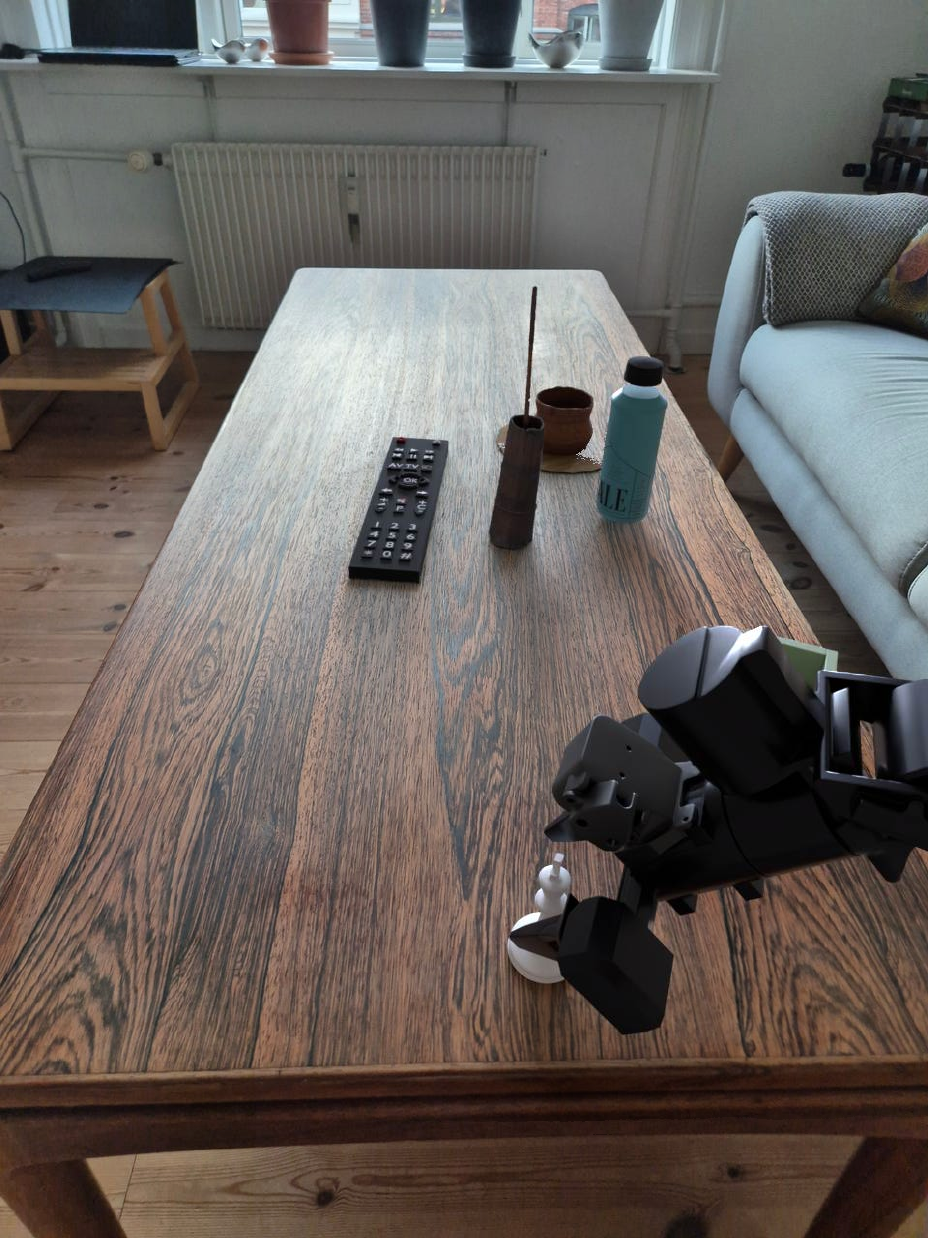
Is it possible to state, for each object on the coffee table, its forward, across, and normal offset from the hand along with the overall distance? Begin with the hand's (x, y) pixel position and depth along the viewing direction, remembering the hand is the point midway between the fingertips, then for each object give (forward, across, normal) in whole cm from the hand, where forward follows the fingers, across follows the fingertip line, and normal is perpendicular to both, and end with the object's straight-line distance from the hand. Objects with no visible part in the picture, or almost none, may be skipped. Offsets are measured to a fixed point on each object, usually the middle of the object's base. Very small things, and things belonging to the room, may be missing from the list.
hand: (531, 884), depth 53 cm
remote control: (+26, -51, -16) cm, 60 cm away
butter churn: (+15, -48, -6) cm, 51 cm away
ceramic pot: (+16, -76, -6) cm, 78 cm away
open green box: (-6, -31, +15) cm, 35 cm away
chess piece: (+4, 0, +6) cm, 7 cm away
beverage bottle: (+8, -58, +2) cm, 58 cm away
